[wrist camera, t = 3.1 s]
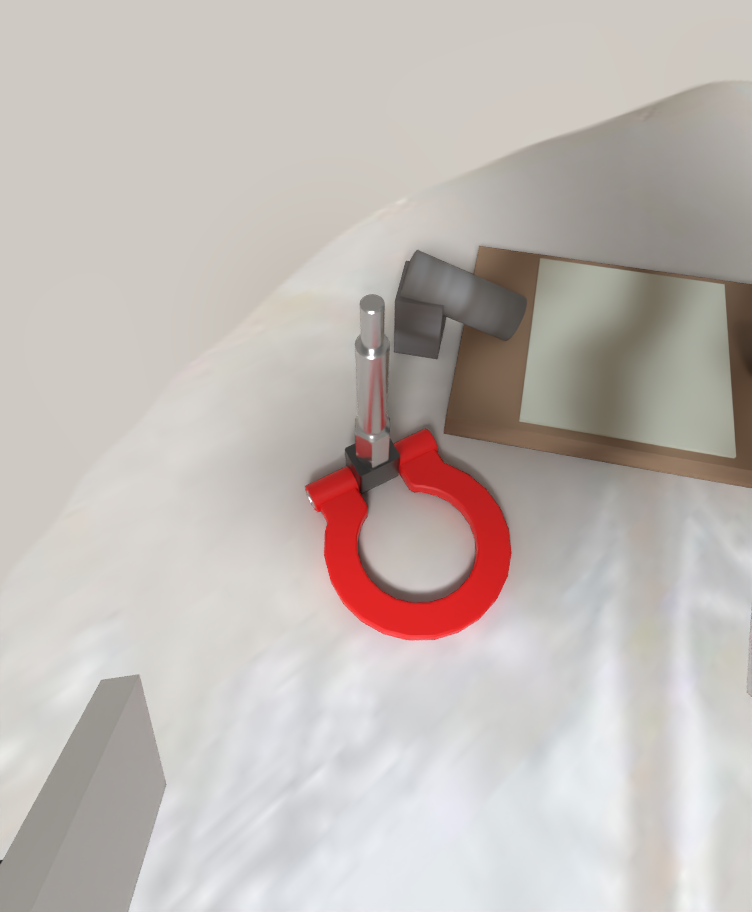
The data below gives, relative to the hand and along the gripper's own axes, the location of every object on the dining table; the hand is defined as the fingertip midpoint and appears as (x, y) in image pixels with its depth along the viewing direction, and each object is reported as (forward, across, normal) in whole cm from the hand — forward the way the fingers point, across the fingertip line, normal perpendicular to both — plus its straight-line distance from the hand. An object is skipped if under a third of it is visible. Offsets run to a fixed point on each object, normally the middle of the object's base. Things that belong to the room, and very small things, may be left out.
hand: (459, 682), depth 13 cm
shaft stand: (+21, +14, +2) cm, 25 cm away
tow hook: (+16, +1, -4) cm, 16 cm away
